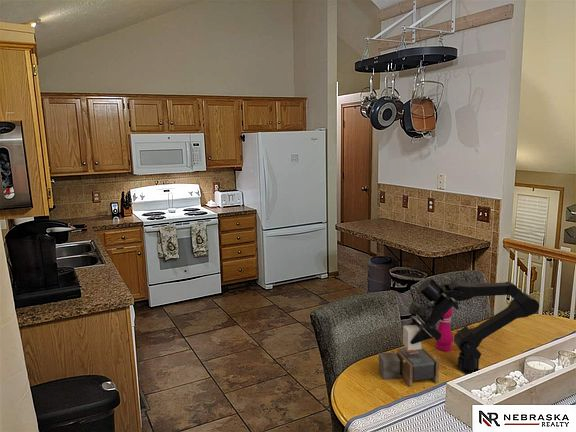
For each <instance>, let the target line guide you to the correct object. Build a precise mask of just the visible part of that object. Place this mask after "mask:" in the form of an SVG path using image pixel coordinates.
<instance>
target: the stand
mask: <svg viewBox="0 0 576 432" xmlns="http://www.w3.org/2000/svg"><path fill="white" fill-rule="evenodd" d="M378 372H379V374H380V376H381V378H382V380H399V379H401V376H400V360H399V358H398V357H397V353H396V352H393V351H392V352H379V353H378Z"/></svg>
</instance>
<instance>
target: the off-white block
mask: <svg viewBox="0 0 576 432" xmlns="http://www.w3.org/2000/svg"><path fill="white" fill-rule="evenodd" d="M418 331H419V327H418V326H417V325H410V324H409V325H403V326H402V344H403V346H404V348H407V349H408V350H416V349H422V343H423V341H421V342H418V343H415V344H411V343H410V342H411V340H412V339H413V338H414V336H415V335H416V334H417V333H418Z"/></svg>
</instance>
